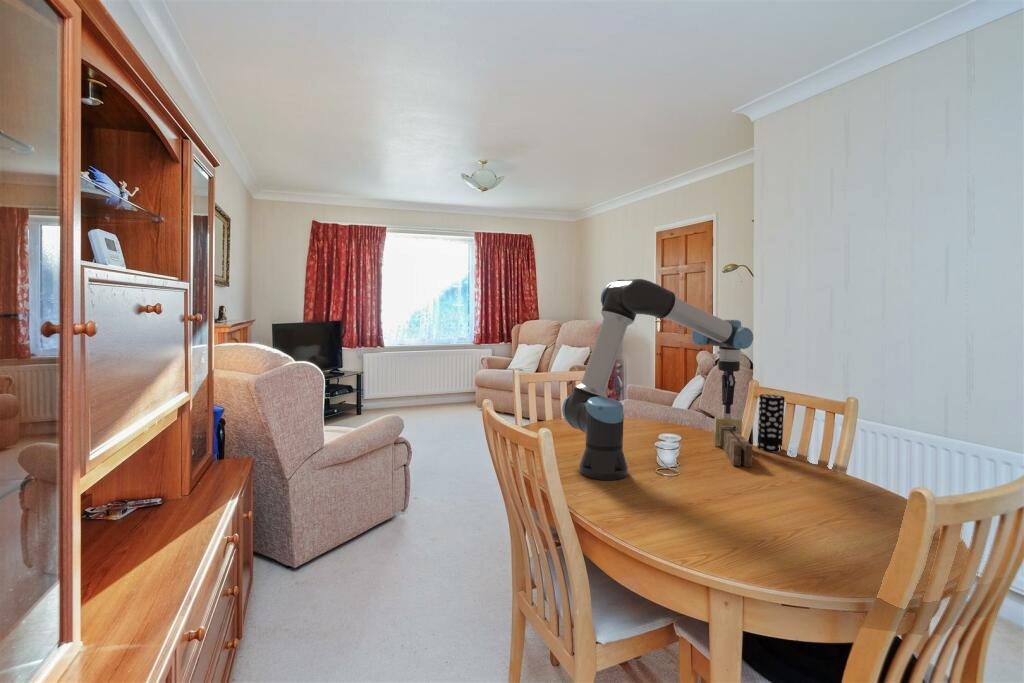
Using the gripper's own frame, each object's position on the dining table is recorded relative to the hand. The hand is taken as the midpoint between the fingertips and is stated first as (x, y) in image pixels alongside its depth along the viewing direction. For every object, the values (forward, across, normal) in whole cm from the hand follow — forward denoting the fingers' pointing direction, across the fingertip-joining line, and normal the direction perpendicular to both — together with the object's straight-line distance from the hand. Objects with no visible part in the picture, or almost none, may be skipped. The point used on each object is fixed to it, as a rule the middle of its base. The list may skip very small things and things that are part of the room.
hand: (726, 421), depth 197 cm
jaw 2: (+9, +17, +2) cm, 20 cm away
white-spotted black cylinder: (+9, +2, +15) cm, 18 cm away
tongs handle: (+9, +2, 0) cm, 9 cm away
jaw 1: (+9, +17, -1) cm, 20 cm away
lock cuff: (+9, +2, 0) cm, 9 cm away
